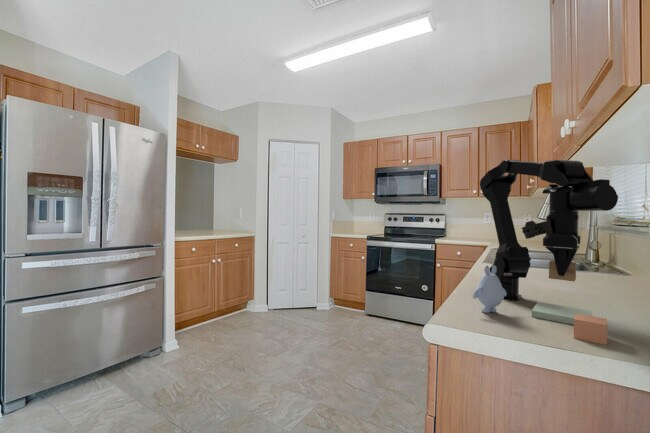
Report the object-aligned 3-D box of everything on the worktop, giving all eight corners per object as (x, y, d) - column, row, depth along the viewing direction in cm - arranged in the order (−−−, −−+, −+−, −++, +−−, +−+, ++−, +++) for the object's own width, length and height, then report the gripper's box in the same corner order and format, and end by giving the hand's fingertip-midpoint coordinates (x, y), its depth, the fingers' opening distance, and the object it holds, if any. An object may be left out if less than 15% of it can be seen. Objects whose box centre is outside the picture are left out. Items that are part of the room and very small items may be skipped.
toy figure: (495, 307, 83) (496, 262, 83) (516, 314, 77) (517, 266, 77) (463, 310, 80) (464, 264, 80) (482, 318, 74) (483, 268, 74)
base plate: (537, 307, 84) (538, 301, 84) (591, 316, 77) (591, 310, 77) (531, 316, 76) (531, 310, 76) (590, 328, 69) (590, 321, 69)
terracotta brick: (574, 332, 66) (575, 313, 66) (606, 338, 63) (606, 318, 63) (573, 338, 63) (574, 319, 63) (607, 345, 59) (607, 325, 59)
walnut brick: (550, 275, 80) (551, 260, 80) (575, 278, 76) (576, 262, 76) (548, 278, 76) (549, 262, 76) (574, 281, 73) (575, 264, 73)
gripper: (530, 211, 89) (529, 265, 89) (518, 210, 75) (516, 274, 75) (581, 212, 81) (579, 271, 81) (577, 210, 67) (576, 281, 67)
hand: (562, 274), depth 76 cm, fingers closed on walnut brick, 5 cm apart
